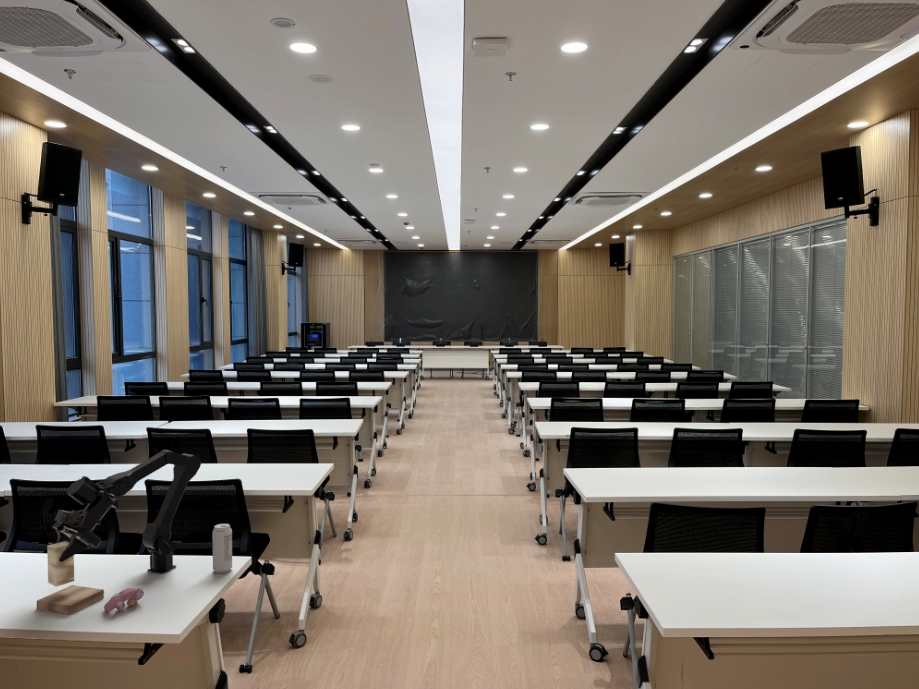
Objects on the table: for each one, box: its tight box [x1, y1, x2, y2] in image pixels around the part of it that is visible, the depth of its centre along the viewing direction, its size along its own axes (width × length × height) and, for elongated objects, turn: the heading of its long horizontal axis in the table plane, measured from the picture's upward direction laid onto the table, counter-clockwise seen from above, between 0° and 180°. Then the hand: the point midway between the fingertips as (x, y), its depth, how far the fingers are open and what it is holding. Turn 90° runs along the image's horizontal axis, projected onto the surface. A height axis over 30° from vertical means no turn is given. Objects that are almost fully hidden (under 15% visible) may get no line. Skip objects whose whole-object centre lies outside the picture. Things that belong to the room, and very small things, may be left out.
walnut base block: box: [36, 584, 105, 615], centre depth 194 cm, size 12×12×2 cm
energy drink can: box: [212, 523, 233, 574], centre depth 220 cm, size 6×6×15 cm
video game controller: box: [103, 586, 145, 613], centre depth 191 cm, size 10×5×7 cm, turn 149°
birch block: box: [46, 541, 75, 588], centre depth 195 cm, size 5×5×11 cm
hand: (55, 559), depth 194 cm, fingers closed on birch block, 5 cm apart
